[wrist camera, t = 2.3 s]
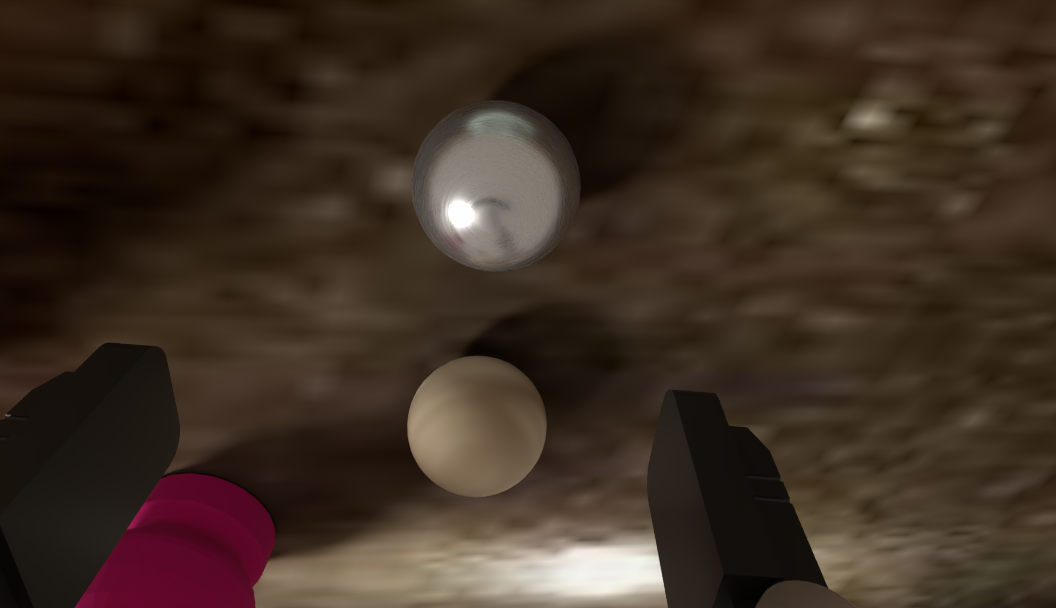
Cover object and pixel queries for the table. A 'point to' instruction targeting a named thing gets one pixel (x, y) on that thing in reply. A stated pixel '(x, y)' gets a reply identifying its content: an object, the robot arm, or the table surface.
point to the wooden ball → (477, 426)
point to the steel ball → (495, 185)
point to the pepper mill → (187, 549)
